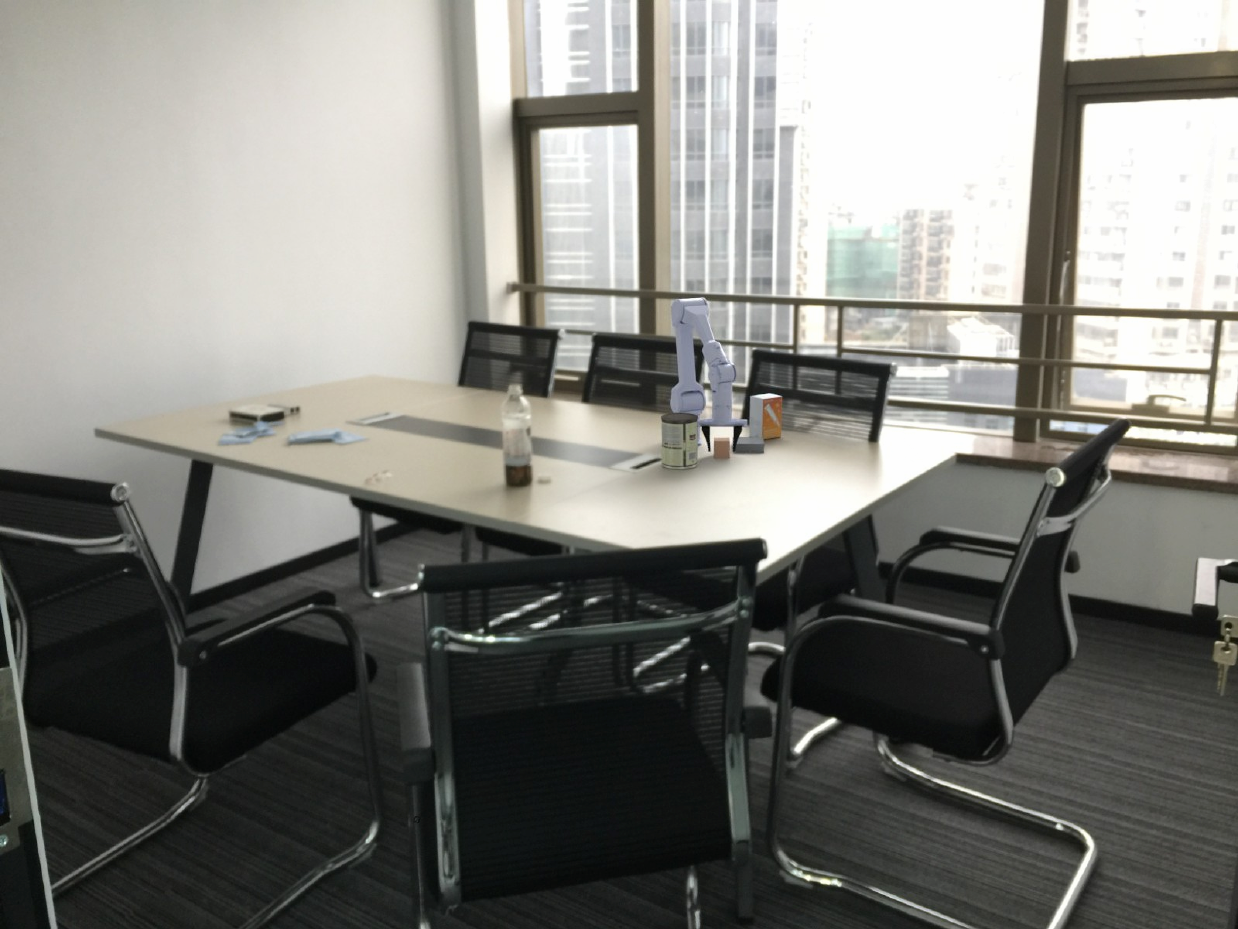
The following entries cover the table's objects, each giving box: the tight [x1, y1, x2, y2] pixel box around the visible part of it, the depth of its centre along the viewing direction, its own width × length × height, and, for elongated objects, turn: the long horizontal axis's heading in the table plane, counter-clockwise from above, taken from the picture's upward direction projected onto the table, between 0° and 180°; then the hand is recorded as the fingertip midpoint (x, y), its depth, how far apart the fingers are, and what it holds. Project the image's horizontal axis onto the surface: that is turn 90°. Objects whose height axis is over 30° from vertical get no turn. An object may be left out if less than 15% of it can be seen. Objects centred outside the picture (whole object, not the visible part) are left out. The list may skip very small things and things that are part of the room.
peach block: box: [713, 437, 731, 459], centre depth 311 cm, size 4×4×5 cm
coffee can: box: [660, 412, 699, 470], centre depth 300 cm, size 10×10×14 cm
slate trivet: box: [734, 436, 765, 453], centre depth 319 cm, size 9×9×3 cm
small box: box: [748, 393, 783, 440], centre depth 333 cm, size 8×6×13 cm
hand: (721, 451), depth 311 cm, fingers open, 6 cm apart
